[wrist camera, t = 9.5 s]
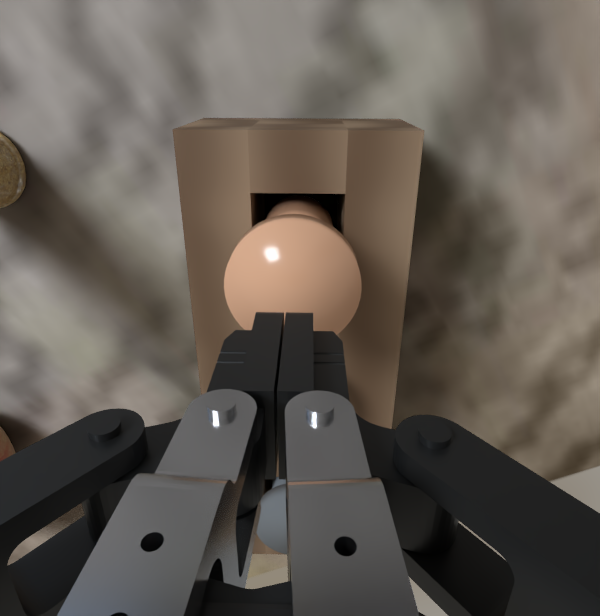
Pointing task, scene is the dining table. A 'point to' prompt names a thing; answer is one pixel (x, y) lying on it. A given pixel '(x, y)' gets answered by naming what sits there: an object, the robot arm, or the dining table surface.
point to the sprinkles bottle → (10, 172)
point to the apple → (5, 446)
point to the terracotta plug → (294, 268)
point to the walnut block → (350, 223)
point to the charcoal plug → (274, 517)
